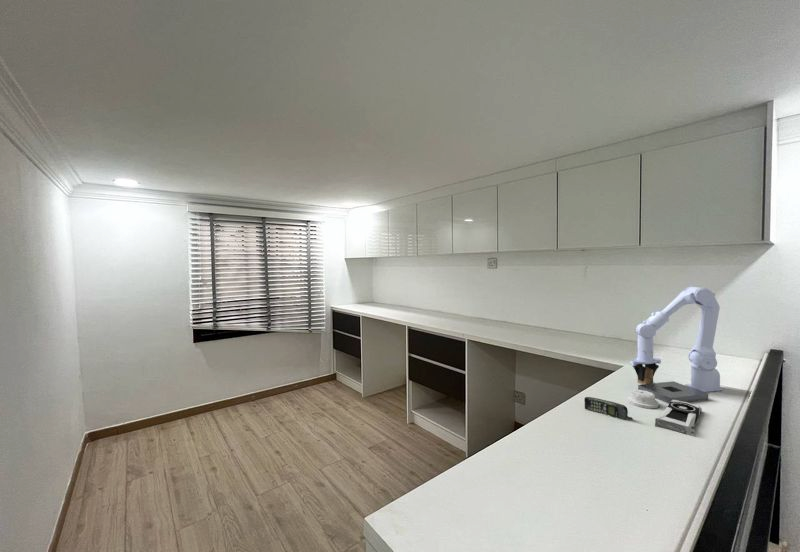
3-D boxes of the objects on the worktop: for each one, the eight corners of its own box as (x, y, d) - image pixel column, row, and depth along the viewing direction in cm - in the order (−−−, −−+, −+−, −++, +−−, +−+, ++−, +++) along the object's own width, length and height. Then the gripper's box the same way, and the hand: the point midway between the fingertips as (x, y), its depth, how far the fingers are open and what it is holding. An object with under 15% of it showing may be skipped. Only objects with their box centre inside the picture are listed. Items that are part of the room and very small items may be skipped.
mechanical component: (635, 408, 124) (664, 410, 122) (635, 397, 124) (664, 398, 122) (622, 397, 134) (649, 399, 132) (622, 387, 134) (650, 388, 132)
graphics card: (655, 418, 110) (670, 397, 126) (655, 428, 110) (670, 405, 126) (694, 429, 102) (706, 405, 118) (694, 439, 102) (705, 414, 119)
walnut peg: (645, 381, 150) (645, 366, 149) (653, 384, 146) (653, 369, 145) (637, 382, 149) (637, 367, 149) (645, 385, 145) (645, 370, 145)
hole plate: (673, 386, 143) (673, 381, 143) (708, 399, 129) (708, 393, 129) (638, 390, 140) (638, 385, 140) (670, 404, 126) (670, 398, 126)
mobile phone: (583, 397, 124) (631, 407, 113) (585, 395, 126) (632, 405, 115) (584, 410, 124) (631, 422, 113) (586, 407, 126) (633, 418, 115)
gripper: (650, 347, 152) (650, 375, 152) (623, 349, 149) (623, 378, 150) (665, 350, 145) (665, 380, 145) (637, 353, 143) (637, 383, 143)
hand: (645, 379), depth 147 cm, fingers closed on walnut peg, 4 cm apart
